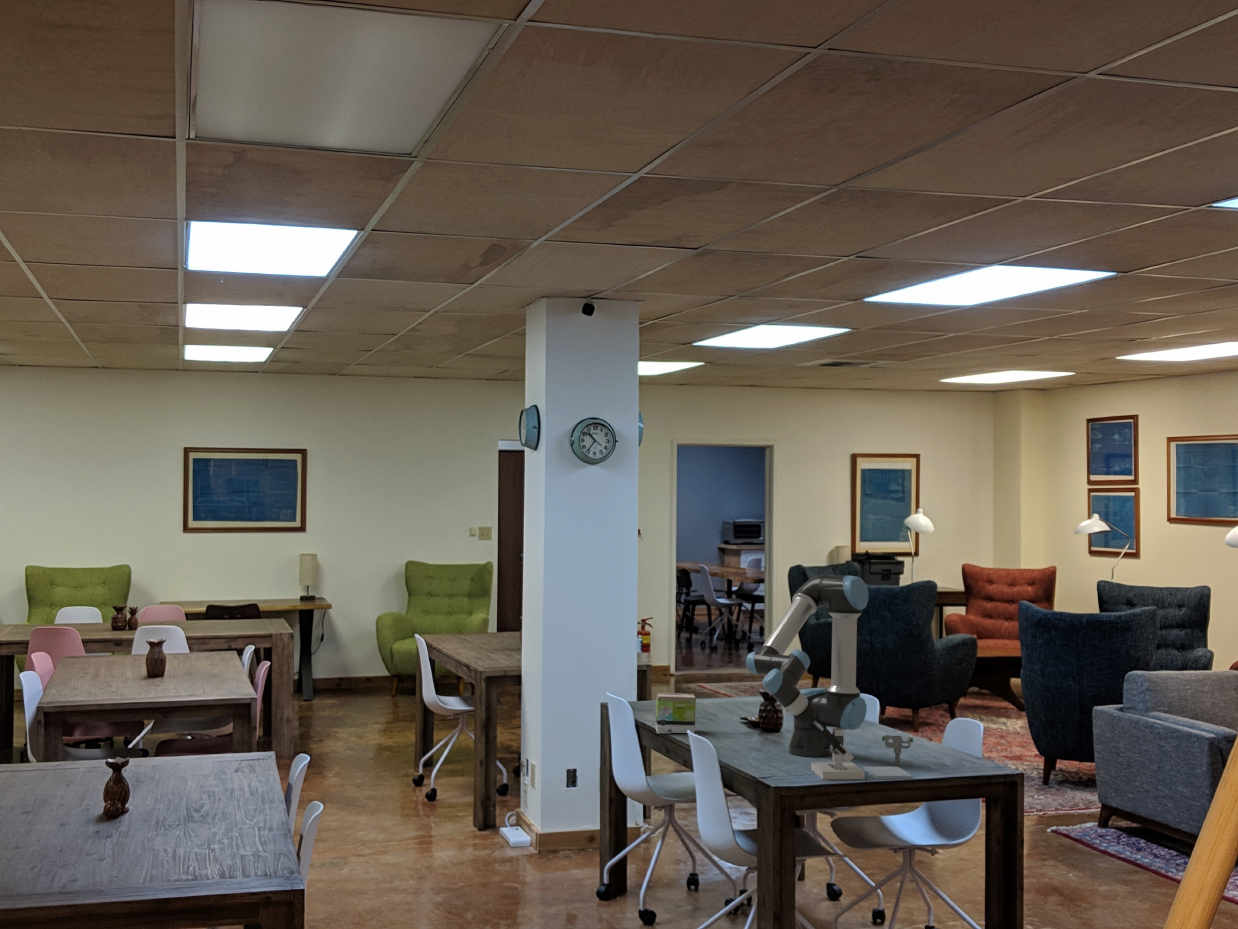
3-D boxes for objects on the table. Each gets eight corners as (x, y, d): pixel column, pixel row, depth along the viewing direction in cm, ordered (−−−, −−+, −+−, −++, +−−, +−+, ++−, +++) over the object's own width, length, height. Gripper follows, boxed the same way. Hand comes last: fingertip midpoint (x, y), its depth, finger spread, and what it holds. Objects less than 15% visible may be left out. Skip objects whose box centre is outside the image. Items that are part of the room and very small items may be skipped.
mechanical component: (912, 767, 397) (912, 738, 398) (882, 765, 400) (882, 736, 400) (912, 765, 400) (912, 736, 401) (882, 764, 402) (882, 734, 403)
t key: (829, 772, 388) (829, 726, 389) (838, 772, 389) (839, 726, 389) (836, 777, 380) (836, 731, 381) (845, 777, 381) (846, 731, 381)
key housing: (811, 770, 391) (811, 762, 391) (851, 769, 392) (851, 762, 392) (822, 779, 377) (822, 771, 377) (864, 779, 378) (864, 771, 378)
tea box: (657, 734, 451) (657, 696, 452) (655, 729, 461) (655, 692, 462) (695, 734, 451) (696, 696, 452) (693, 730, 461) (693, 692, 462)
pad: (863, 769, 393) (863, 766, 393) (897, 769, 394) (897, 766, 394) (876, 779, 379) (876, 776, 379) (912, 778, 380) (912, 775, 380)
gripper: (786, 712, 392) (834, 761, 393) (798, 721, 376) (848, 772, 377) (802, 696, 393) (849, 746, 394) (815, 704, 377) (864, 755, 378)
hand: (849, 758), depth 385 cm, fingers closed on t key, 3 cm apart
